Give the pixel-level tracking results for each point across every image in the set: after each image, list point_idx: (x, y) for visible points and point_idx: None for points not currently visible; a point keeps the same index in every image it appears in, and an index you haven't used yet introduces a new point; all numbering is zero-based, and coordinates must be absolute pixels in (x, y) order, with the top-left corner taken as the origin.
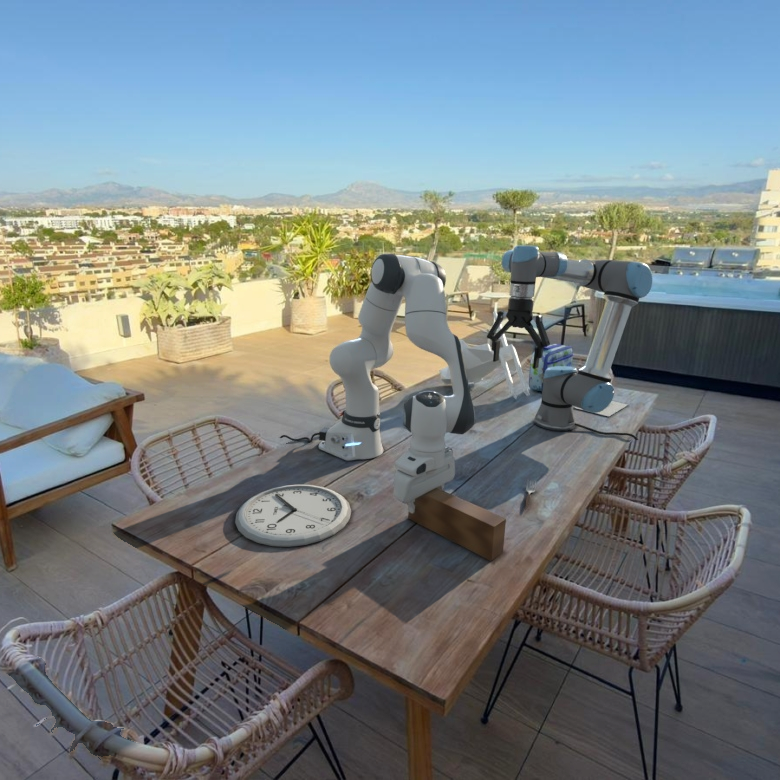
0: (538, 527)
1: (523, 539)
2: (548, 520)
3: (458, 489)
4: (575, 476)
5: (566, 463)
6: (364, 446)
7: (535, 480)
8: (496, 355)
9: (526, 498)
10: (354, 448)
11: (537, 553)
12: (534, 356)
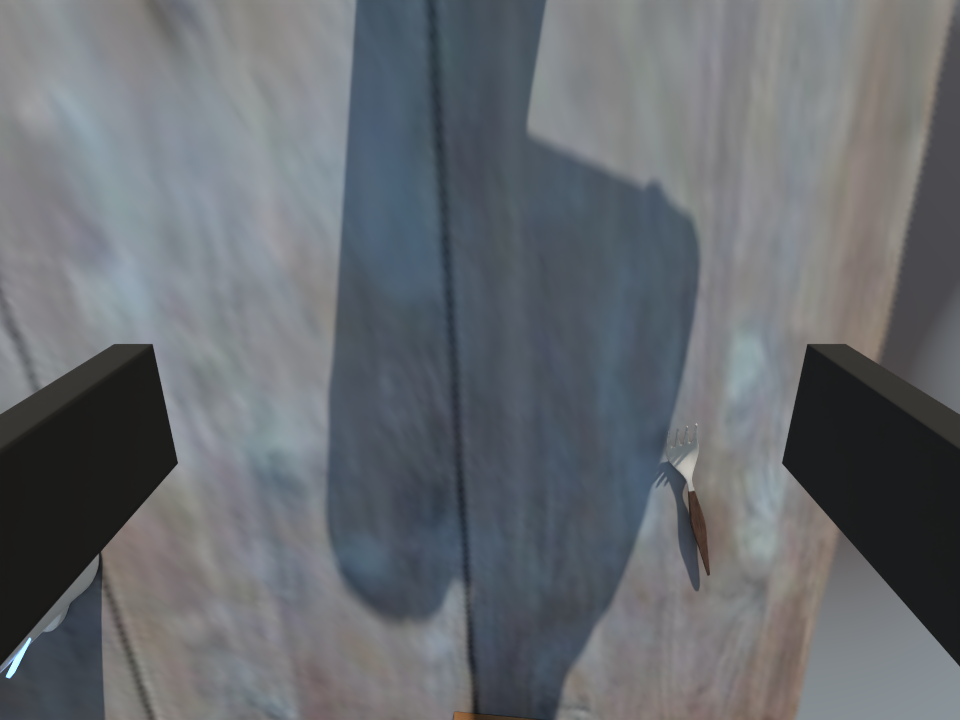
0: (760, 613)
1: (737, 674)
2: (778, 571)
3: (471, 570)
4: (817, 224)
5: (758, 107)
6: (47, 617)
7: (695, 425)
8: (119, 486)
9: (693, 523)
10: (35, 638)
11: (782, 700)
12: (906, 595)
